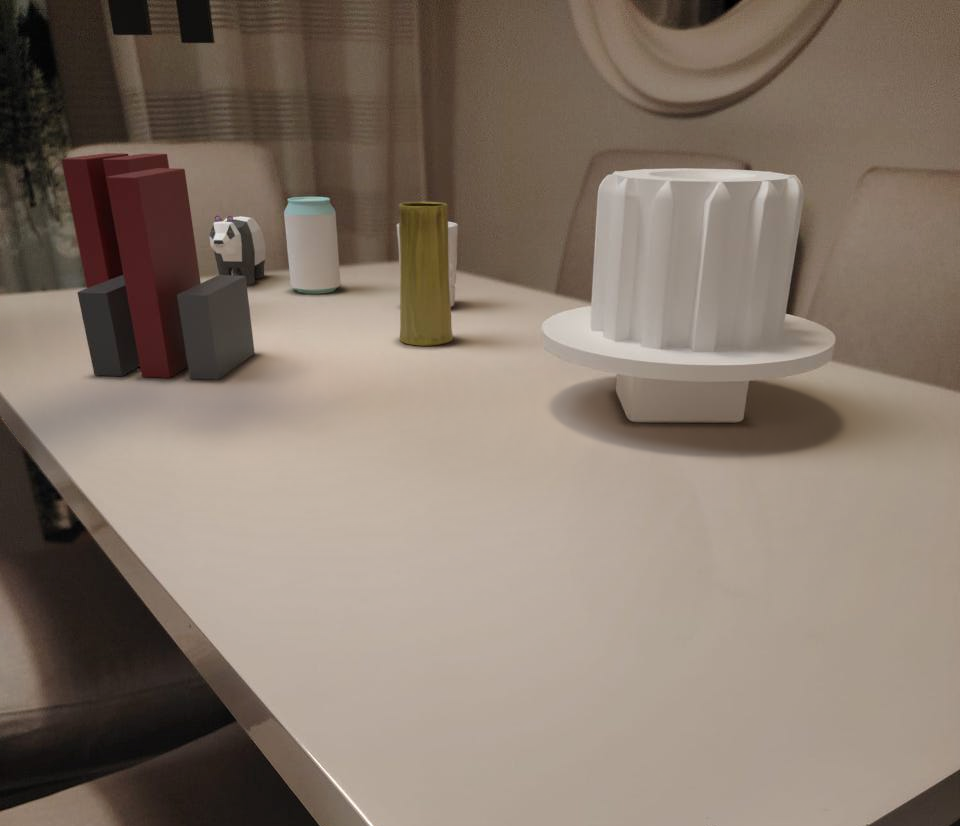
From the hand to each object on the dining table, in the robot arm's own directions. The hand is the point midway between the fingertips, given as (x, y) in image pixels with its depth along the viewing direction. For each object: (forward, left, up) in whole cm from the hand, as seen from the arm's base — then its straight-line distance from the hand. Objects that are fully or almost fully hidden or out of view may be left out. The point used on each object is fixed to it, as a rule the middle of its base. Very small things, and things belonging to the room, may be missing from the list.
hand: (168, 39), depth 76 cm
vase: (+17, +22, -28) cm, 40 cm away
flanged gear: (+44, -1, -28) cm, 52 cm away
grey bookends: (-7, +8, -28) cm, 30 cm away
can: (-4, +51, -28) cm, 58 cm away
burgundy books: (-22, +32, -28) cm, 48 cm away
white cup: (+14, +42, -28) cm, 52 cm away
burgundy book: (-7, +8, -28) cm, 30 cm away
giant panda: (-17, +56, -28) cm, 65 cm away
